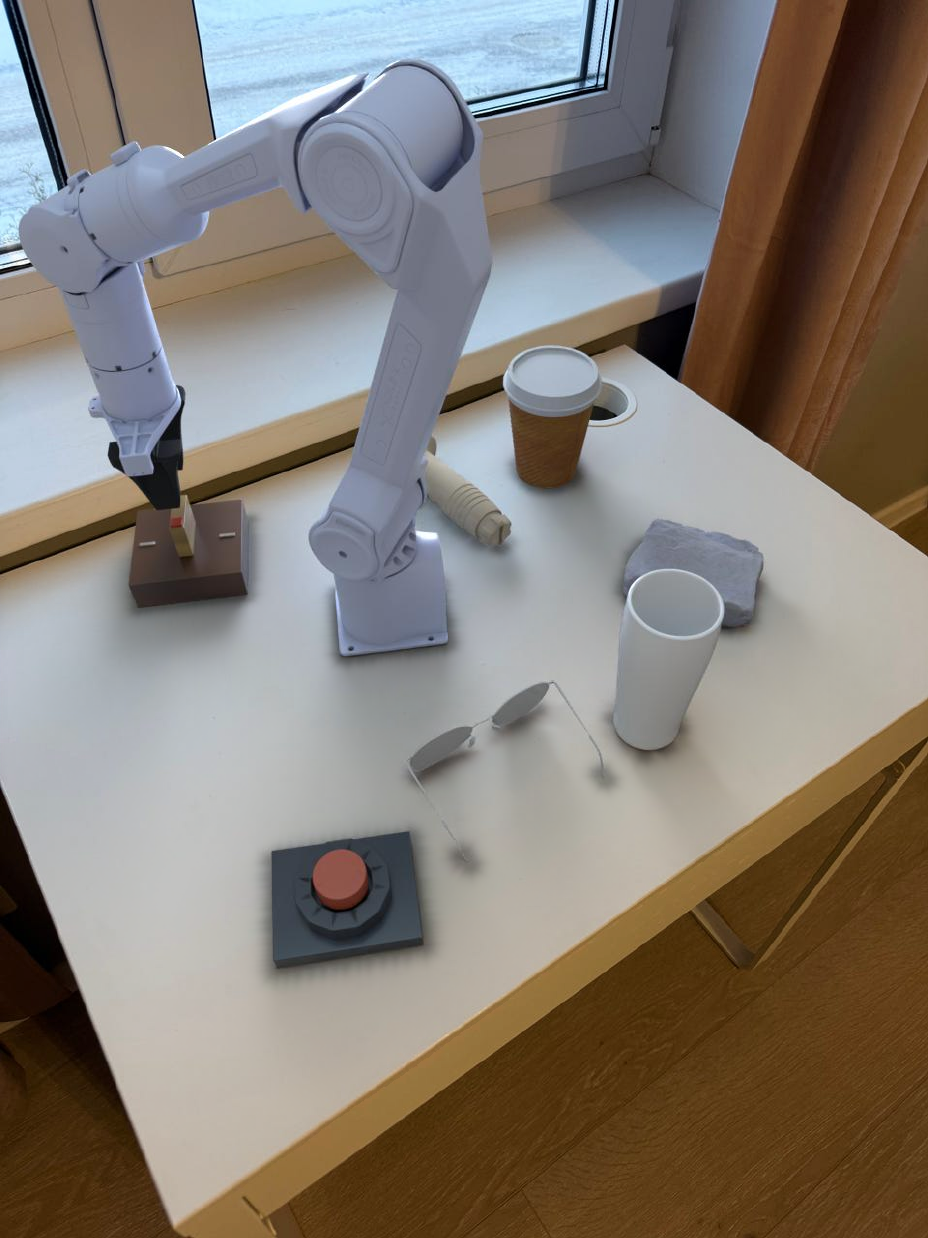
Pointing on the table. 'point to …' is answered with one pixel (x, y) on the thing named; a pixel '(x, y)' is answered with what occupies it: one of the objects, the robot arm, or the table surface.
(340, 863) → the bell button
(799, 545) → the table surface
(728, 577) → the stone block
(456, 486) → the handle
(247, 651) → the table surface
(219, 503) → the plate
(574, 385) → the disposable coffee cup
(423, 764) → the sunglasses
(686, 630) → the drinking glass
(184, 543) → the thumbturn
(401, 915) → the block
